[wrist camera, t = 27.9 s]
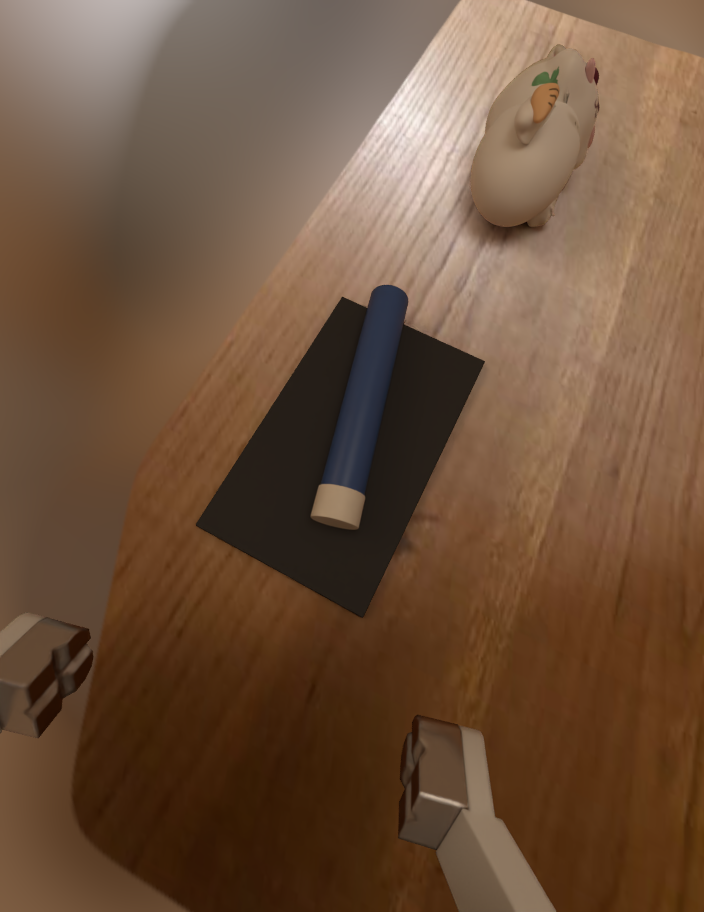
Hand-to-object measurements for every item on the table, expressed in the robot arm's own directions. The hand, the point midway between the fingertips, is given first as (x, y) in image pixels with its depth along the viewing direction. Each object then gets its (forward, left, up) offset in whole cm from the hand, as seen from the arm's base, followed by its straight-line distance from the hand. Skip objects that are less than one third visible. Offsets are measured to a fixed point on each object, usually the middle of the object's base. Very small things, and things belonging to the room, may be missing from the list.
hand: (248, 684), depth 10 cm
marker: (+15, +18, -14) cm, 27 cm away
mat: (+8, +10, -16) cm, 20 cm away
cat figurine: (+32, +25, -16) cm, 43 cm away
